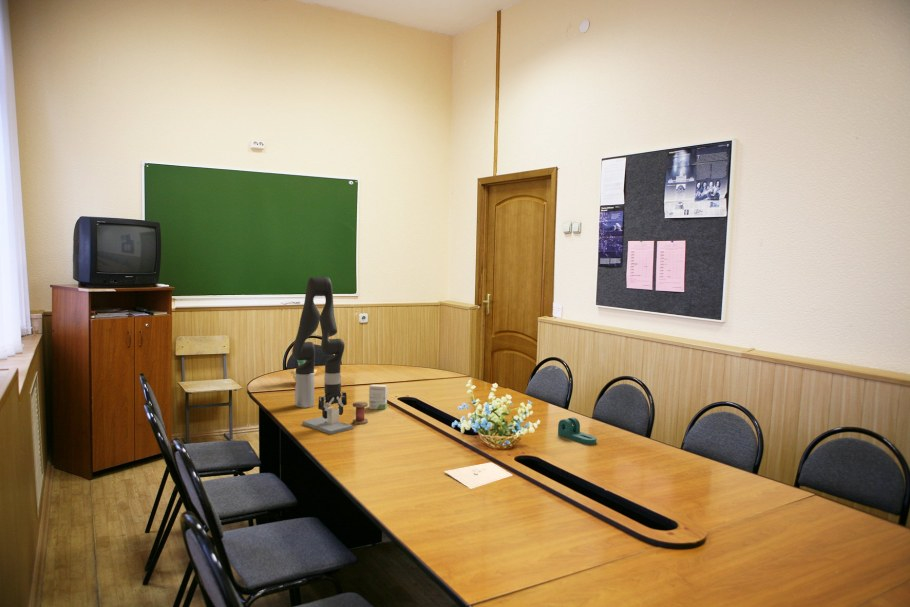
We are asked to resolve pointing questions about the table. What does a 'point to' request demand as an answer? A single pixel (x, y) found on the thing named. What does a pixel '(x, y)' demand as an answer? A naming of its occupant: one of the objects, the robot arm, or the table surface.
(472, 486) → the paper sheet
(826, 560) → the table surface
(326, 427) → the notched board
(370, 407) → the ink box
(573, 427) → the bracket
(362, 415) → the spool
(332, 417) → the block
